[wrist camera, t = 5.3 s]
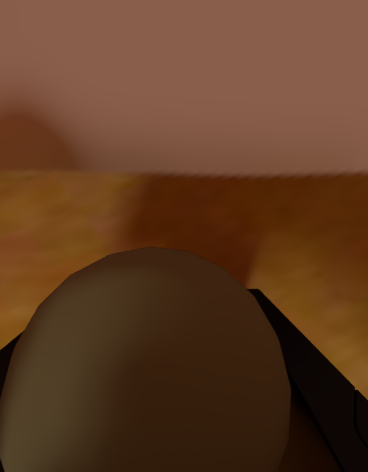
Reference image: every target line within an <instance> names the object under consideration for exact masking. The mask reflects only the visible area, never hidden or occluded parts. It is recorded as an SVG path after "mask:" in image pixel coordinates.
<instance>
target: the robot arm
mask: <svg viewBox="0 0 368 472" xmlns="http://www.w3.org/2000/svg"><path fill="white" fill-rule="evenodd" d="M247 290H248V291H249V292H250V293H251V294H252V295H253V296H254V297H255V299H256V300H257V302H258V304H259V305H260V307H261V309H262V311H263V312H264V314H265V316H266V317H267V319H268V321H269V323H270V324H271V326H272V328H273V330H274V331H275V333H276V335H277V337H278V340H279V343H280V347H281V351H282V355H283V359H284V363H285V367H286V371H287V375H288V379H289V383H290V387H291V400H290V423H289V442H288V445H287V448H286V450H285V453H284V456H283V459H282V462H281V465H280V468H279V470H278V471H279V472H368V400H367V399H366V398H365V397H364V396H363V395H362V394H361V393H360V392H359V391H358V390H355V387H354V386H353V385H352V384H351V383H350V382H349V381H348V380H347V379H346V378H345V377H344V376H343V375H342V374H341V373H340V372H339V371H338V369H337V368H336V367H335V366H334V365H333V364H332V363H331V362H330V361H329V360H328V359H327V358H326V357H325V356H324V355H323V354H322V353H321V352H320V351H319V350H318V349H317V348H316V347H315V346H314V345H313V344H312V343H311V342H310V341H309V340H308V339H307V338H306V337H305V336H304V335H303V334H302V333H301V332H300V331H299V330H298V329H297V328H296V327H295V326H294V325H293V324H292V323H291V322H290V321H289V320H288V318H287V317H286V316H285V315H284V314H283V313H282V312H281V311H280V310H279V309H278V308H277V307H276V306H275V305H274V304H273V303H272V302H271V301H270V300H269V299H268V298H267V297H266V296H265V295H264V294H263V293H262V292H261V291H260V290H259V289H247ZM23 332H24V331H23ZM23 332H22V333H20V334H19V335H18V336H17V337H16V338H14V339H13V340H12V341H11V342H10V343H8V344H7V345H6V346H5V347H3V348H2V349H1V350H0V398H1V394H2V390H3V387H4V383H5V379H6V375H7V371H8V367H9V364H10V360H11V356H12V354H13V351H14V348H15V346H16V344H17V342H18V341H19V339H20V337H21V335H22V334H23ZM0 472H5V471H4V468H3V465H2V462H1V459H0Z"/></svg>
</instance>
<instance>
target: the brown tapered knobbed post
mask: <svg viewBox="0 0 368 472" xmlns="http://www.w3.org/2000/svg"><path fill="white" fill-rule="evenodd" d="M290 400H291V387H290V383H289V379H288V375H287V371H286V367H285V363H284V359H283V355H282V351H281V347H280V343H279V340H278V337H277V335H276V333H275V331H274V330H273V328H272V326H271V324H270V323H269V321H268V319H267V317H266V316H265V314H264V312H263V311H262V309H261V307H260V305H259V304H258V302H257V300H256V299H255V297H254V296H253V295H252V294H251V293H250V292H249V291H248V290H247V289H246V288H245V287H244V286H243V285H242V284H241V283H239V282H238V281H237V280H236V279H235V278H234V277H233V276H232V275H231V274H230V273H229V272H228V271H227V270H225V269H224V268H223V267H220V266H218V265H216V264H214V263H212V262H210V261H208V260H206V259H204V258H201V257H199V256H197V255H195V254H193V253H191V252H188V251H181V250H173V249H166V248H158V247H147V248H141V249H135V250H130V251H124V252H119V253H114V254H111V255H108V256H106V257H104V258H102V259H100V260H98V261H96V262H94V263H92V264H90V265H89V266H87V267H85V268H83V269H81V270H79V271H77V272H75V273H73V274H71V275H70V276H69V277H68V278H67V279H66V280H65V281H64V282H63V283H62V284H60V285H59V286H58V287H57V288H56V289H55V290H54V291H53V292H52V293H51V294H50V295H49V296H48V297H47V298H46V299H45V300H44V301H43V302H42V303H41V304H40V305H39V306H38V308H37V309H36V311H35V313H34V315H33V316H32V318H31V320H30V322H29V323H28V325H27V327H26V328H25V330H24V332H23V334H22V335H21V337H20V339H19V341H18V342H17V344H16V346H15V348H14V351H13V354H12V356H11V360H10V364H9V367H8V371H7V375H6V379H5V383H4V387H3V390H2V394H1V398H0V459H1V462H2V465H3V468H4V471H5V472H278V470H279V468H280V465H281V462H282V459H283V456H284V453H285V450H286V448H287V445H288V442H289V423H290Z"/></svg>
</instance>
